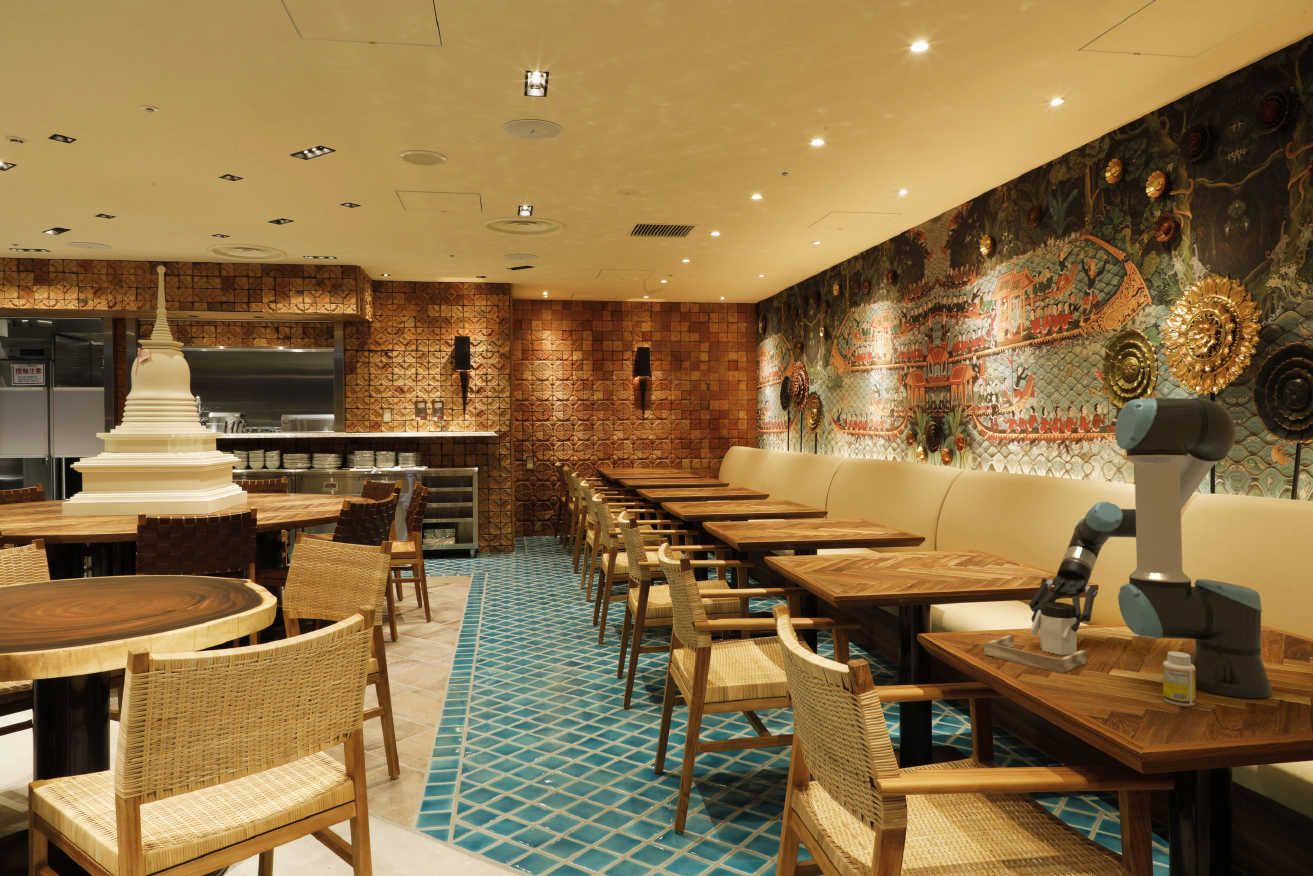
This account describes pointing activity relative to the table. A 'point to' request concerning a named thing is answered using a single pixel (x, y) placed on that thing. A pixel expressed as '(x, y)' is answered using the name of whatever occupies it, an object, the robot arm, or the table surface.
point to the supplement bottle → (1179, 679)
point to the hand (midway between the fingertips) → (1049, 636)
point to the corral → (1032, 656)
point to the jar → (1057, 628)
